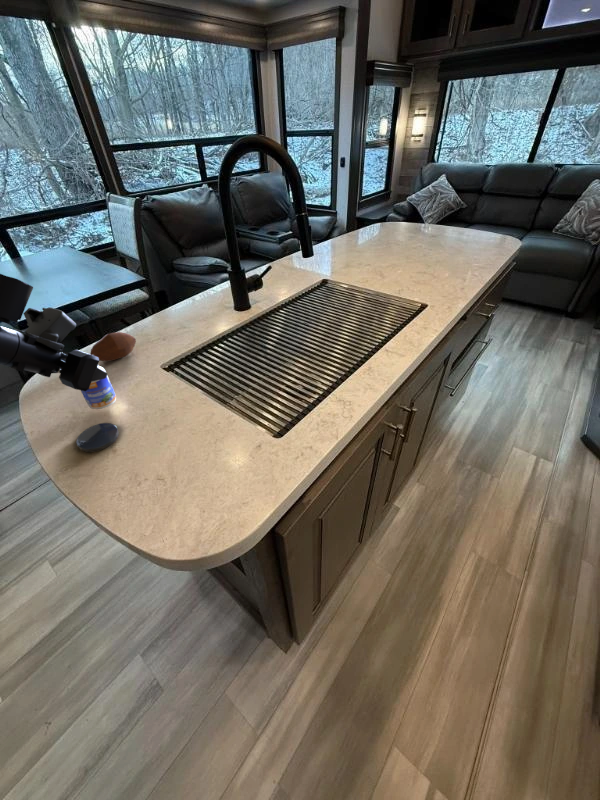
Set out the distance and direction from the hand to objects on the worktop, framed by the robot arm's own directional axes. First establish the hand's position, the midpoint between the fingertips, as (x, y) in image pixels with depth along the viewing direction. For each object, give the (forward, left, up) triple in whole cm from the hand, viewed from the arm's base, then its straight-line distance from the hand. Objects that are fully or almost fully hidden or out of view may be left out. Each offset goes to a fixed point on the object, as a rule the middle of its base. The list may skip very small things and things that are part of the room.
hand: (96, 372), depth 66 cm
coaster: (-9, -6, -8) cm, 14 cm away
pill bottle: (-1, 0, -7) cm, 7 cm away
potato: (+16, +13, -8) cm, 22 cm away
